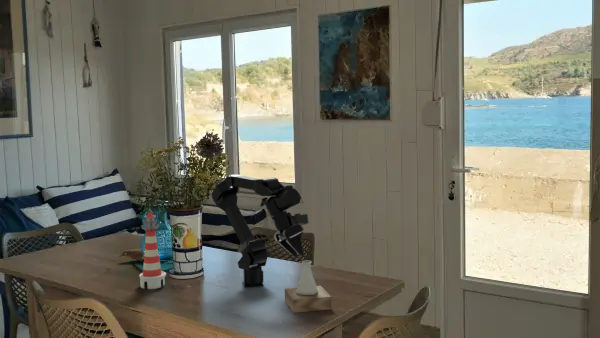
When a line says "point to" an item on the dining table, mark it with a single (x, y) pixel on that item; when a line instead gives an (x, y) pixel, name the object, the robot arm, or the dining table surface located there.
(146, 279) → the miniature lighthouse
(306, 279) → the flask
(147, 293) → the dining table surface
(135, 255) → the bird sculpture
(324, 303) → the light brown square board
